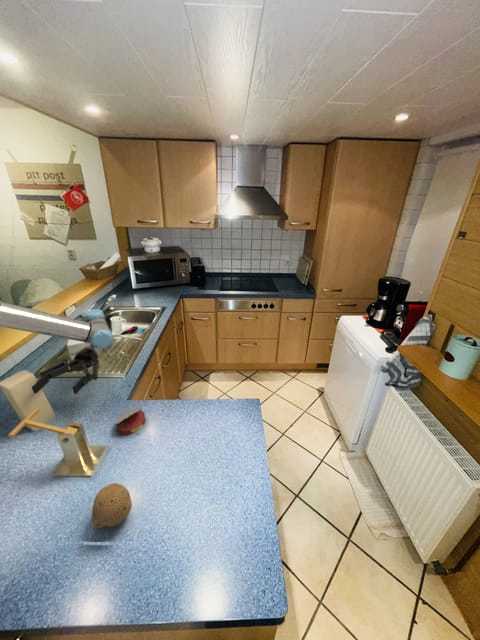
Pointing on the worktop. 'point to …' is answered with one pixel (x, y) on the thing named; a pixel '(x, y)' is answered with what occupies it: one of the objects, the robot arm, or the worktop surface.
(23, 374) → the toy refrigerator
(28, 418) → the lever
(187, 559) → the worktop surface
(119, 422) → the canned food
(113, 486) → the natural sponge
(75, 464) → the bracket
